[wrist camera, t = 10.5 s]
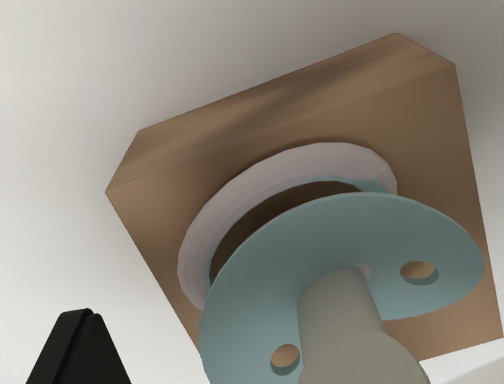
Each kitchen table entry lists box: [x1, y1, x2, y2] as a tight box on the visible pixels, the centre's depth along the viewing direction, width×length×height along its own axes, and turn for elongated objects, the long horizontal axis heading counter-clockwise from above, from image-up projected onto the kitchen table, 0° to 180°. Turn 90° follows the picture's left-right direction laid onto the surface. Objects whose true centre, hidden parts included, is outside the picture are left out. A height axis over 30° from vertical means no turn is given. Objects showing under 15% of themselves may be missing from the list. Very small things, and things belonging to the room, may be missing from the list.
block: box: [105, 33, 504, 367], centre depth 16 cm, size 9×9×5 cm
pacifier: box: [177, 143, 485, 384], centre depth 10 cm, size 7×6×6 cm
